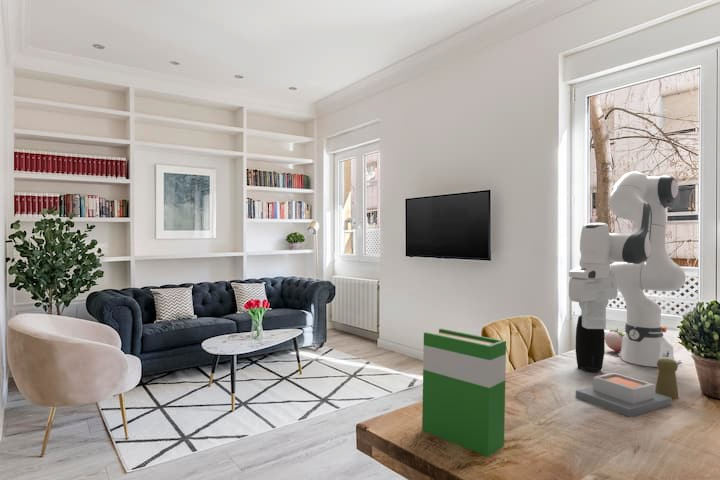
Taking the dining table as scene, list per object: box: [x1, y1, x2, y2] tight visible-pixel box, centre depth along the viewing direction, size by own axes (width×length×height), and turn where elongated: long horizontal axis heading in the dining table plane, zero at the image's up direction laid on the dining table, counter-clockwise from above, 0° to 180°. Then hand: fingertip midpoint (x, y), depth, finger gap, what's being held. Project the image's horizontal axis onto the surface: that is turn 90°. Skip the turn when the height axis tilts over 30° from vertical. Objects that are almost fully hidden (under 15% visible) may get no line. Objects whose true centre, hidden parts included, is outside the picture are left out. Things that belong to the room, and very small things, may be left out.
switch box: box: [575, 372, 673, 418], centre depth 129 cm, size 20×16×6 cm
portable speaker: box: [575, 314, 606, 374], centre depth 159 cm, size 9×9×20 cm
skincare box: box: [581, 292, 607, 330], centre depth 144 cm, size 6×4×12 cm
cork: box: [654, 359, 679, 400], centre depth 134 cm, size 6×6×11 cm
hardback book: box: [421, 328, 507, 457], centre depth 104 cm, size 18×7×24 cm, turn 45°
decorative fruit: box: [605, 328, 626, 353], centre depth 184 cm, size 9×8×10 cm
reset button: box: [606, 377, 642, 388], centre depth 129 cm, size 6×8×2 cm
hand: (593, 314), depth 144 cm, fingers closed on skincare box, 7 cm apart
